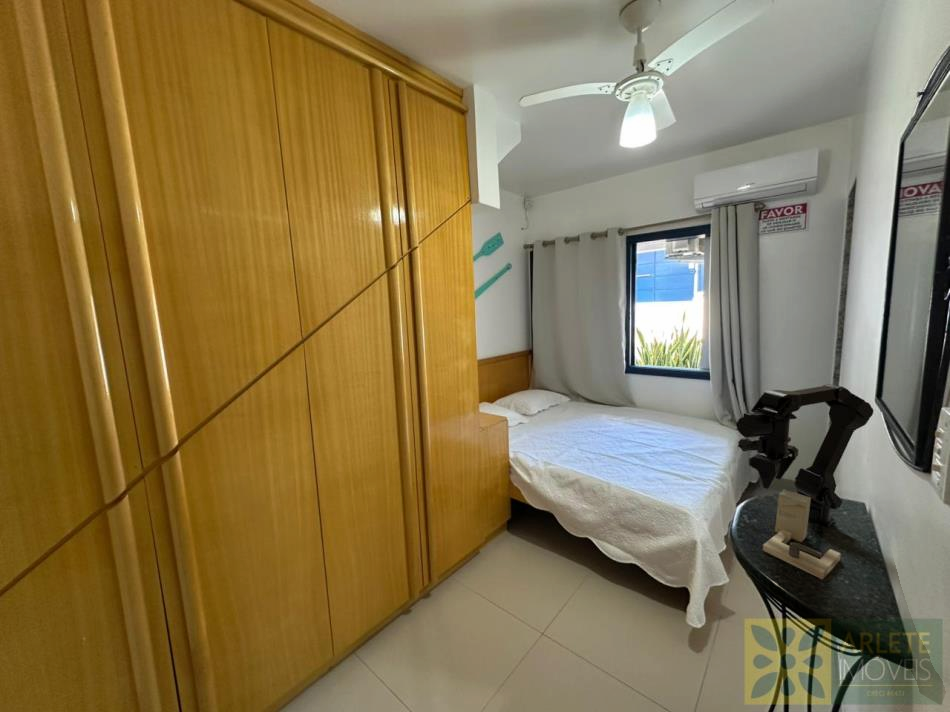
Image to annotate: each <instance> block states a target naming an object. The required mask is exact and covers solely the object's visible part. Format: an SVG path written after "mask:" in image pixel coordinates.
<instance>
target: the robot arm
mask: <svg viewBox="0 0 950 712" xmlns="http://www.w3.org/2000/svg"><path fill="white" fill-rule="evenodd" d="M821 403H825V404H826V405H827V407H829V410H828V416H829V420H830V423H831V424H830V426H829V428H828V430H827V432H826V435H825V437H824V438H823V441H822V443H821V445H820V447H819V449H818V451H817V453H816V455H815V458H814V460H813V462H812V464H811V466H809V467H807V468H803V467H802V468H799V470H798V473H797V475H796V477H795V478H794V486H795V488H796V493H798V494H801V495H804V496H807V497H810V498H811V501H810V509H809V517H808V522H811V523H814V524H817V525H818V526H821V527H824V528H828V527H829V526H830V525H832V524H833V523H834V522H835V519H834V518H832V517H831V512H832V510H837V509H838V508H840V507H841V506H842V504H843V499H841V498H840V496H838V495H837V493H836V492H835V491H836V489H837V483H836V480H835V476H834V475H835V472H836V470H837V468H838V466H839V463H840V462H841V459H842V457H843V455H844V453H845V450H846V449H847V446H848V444H849V442H850V440H851V439H852V436H853V434H854V432H855V431H857V430H858V429H860V428H862V427H864V426H866V425H867V424H868V422H869V420H870V419H871V417H872V416H873V414H874V409H873V407H872V405H871V404H870V403H869V402H868V401H866V400H865V399H863V398H861V397H859V396H857V395H855V394H854V393H852V392H850V390H849V389H848V388H845V386H839V385H834V384H828V383H827V384H824V385H821V386H816V387H811V388H810V387H807V388H801V389H797V390H782V389H781V390H779V389H768V390H765V391H764V392H763V394H761V396H760V397H759V399H758V400H757V401H756V403H755V405H754V406H753V407H752V409H750V411H751V412H744V413H743V416H742V417H740V418H738V420H737V422H736V429H737V431H738V433H739V434H740V435H741V436H742V437H743V438H741V439H739V440H738V442H737V444H738V445H737V447H738V448H739V449H741V451H742V452H747V451H750V452H751V451H757V454H755V455H753V456H751V457H749V459H748V466H749V467H751V468H752V469H754V470H756V471H757V472H758V474H759V477H760V480H761V484H762V487H763V488H764V489H767V490H768V489H770V487H771V486H772V483H773V482H774V481H775V479H777V480H781V479H782V478H783V477H784V475H785V474H786V473H787V471H788V470H789V469H790V467H791V466H792V464H793V463H794V462H795V460H796V459H797V457H798V456H799V449H798V448H797V447H796V446H795V445H790V444H789V443H790V442H791V441H792V438H791V437H790V422H791V421H790V420H797V416H796V415H795V414H793V413H794V412H798V411H799V410H800V409H801V407H804V406H810V405H817V404H821ZM763 454H764V455H763Z"/></svg>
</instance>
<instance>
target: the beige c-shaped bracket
mask: <svg viewBox="0 0 950 712" xmlns="http://www.w3.org/2000/svg"><path fill="white" fill-rule="evenodd" d="M791 540H792V538H791V533H790V532H788V531H785V530H783V529H782V530H781V531H780V532H779V533H778V532H776V534H775V535H773V537H771V538H769V540H767V541H766V542H764V543H763V544H762V551H763V552H765V553H766V554H767V553H768V554H769V555H771V556H774V557H775V558H778V559H780V560H782V561H784V562H786V563H788V564H790V565H792V566H794V567H796V568H798V569H800V570H802V571H804V572H805V573H809V574H810V575H813V576H815V577H817V578H819V579H820V580H824V578H825V577H826V576H827V575H828V574H829V573H830V572H831V571H832V570H833V569H834V568H835V567H836V565H837V564H838V563H839V562H840V561H841V553H840V552H838V551H835V550H834V549H831V548H830V549H828V551H826V553H824V554H823V553H822V552H820V551H818V550H815V549H813V548H811V547H808V546H806V545H804V544H801V543H799V542H798V541H795V542H792V541H791ZM790 541H791V542H790ZM788 543H789V545H788ZM819 558H820V559H819Z"/></svg>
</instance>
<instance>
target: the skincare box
mask: <svg viewBox="0 0 950 712" xmlns="http://www.w3.org/2000/svg"><path fill="white" fill-rule="evenodd" d="M810 501H811V498H810V497H807V496H804V495H801V494H798V492H795V491H792V490H788V489H785V488H782V489H781V491H780V492H779V493H778V500H777V508H776V509H777V510H776V517H775V526H774V532H775V533H779V532H780V531H781V530H782V529H783V530H785V531H788V532H790V533H791V540H794V541H796V542H798V543H799V542H800V543H802V542H803V541H804V540H805V539H806V537H807V533H808V526H809V525H808V523H809V521H808V517H809V509H810Z"/></svg>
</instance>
